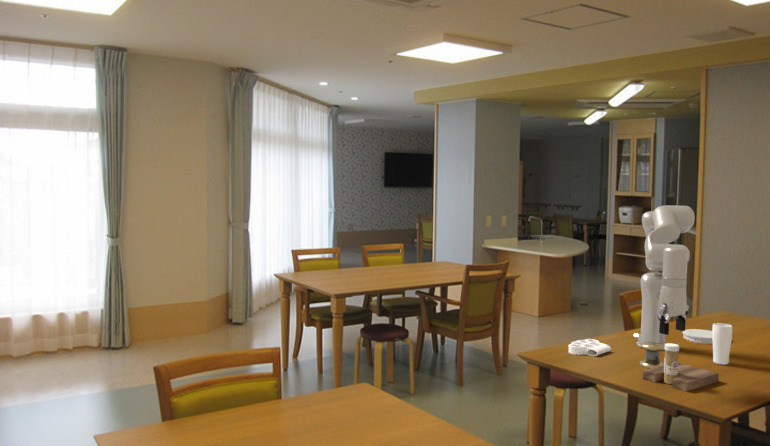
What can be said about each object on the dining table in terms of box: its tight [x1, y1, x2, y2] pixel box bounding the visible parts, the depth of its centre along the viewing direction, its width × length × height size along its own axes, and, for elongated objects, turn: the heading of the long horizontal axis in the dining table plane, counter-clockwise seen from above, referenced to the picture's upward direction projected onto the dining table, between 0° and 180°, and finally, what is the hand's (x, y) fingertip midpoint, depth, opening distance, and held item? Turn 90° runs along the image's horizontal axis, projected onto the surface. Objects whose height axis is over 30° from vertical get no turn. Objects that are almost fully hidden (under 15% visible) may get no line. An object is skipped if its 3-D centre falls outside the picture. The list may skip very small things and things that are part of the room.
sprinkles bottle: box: [662, 342, 680, 385], centre depth 213 cm, size 5×5×14 cm
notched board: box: [642, 362, 720, 392], centre depth 216 cm, size 16×20×3 cm
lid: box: [681, 328, 713, 345], centre depth 276 cm, size 17×20×3 cm
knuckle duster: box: [567, 338, 612, 357], centre depth 254 cm, size 3×18×15 cm
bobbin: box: [639, 342, 665, 369], centre depth 233 cm, size 9×9×8 cm
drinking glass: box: [711, 322, 733, 366], centre depth 237 cm, size 7×7×15 cm
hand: (672, 332), depth 212 cm, fingers open, 9 cm apart
